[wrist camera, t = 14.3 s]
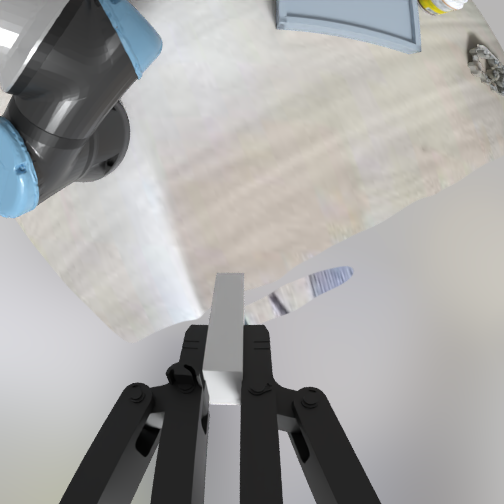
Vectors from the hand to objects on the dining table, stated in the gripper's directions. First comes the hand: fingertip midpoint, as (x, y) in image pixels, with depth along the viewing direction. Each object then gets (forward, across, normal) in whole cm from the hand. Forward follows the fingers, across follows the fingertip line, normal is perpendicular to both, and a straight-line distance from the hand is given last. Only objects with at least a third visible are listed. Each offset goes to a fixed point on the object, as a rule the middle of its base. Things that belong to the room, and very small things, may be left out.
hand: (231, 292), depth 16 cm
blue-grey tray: (+29, +16, +30) cm, 45 cm away
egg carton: (+30, +47, +27) cm, 62 cm away
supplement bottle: (+30, +32, +36) cm, 57 cm away
